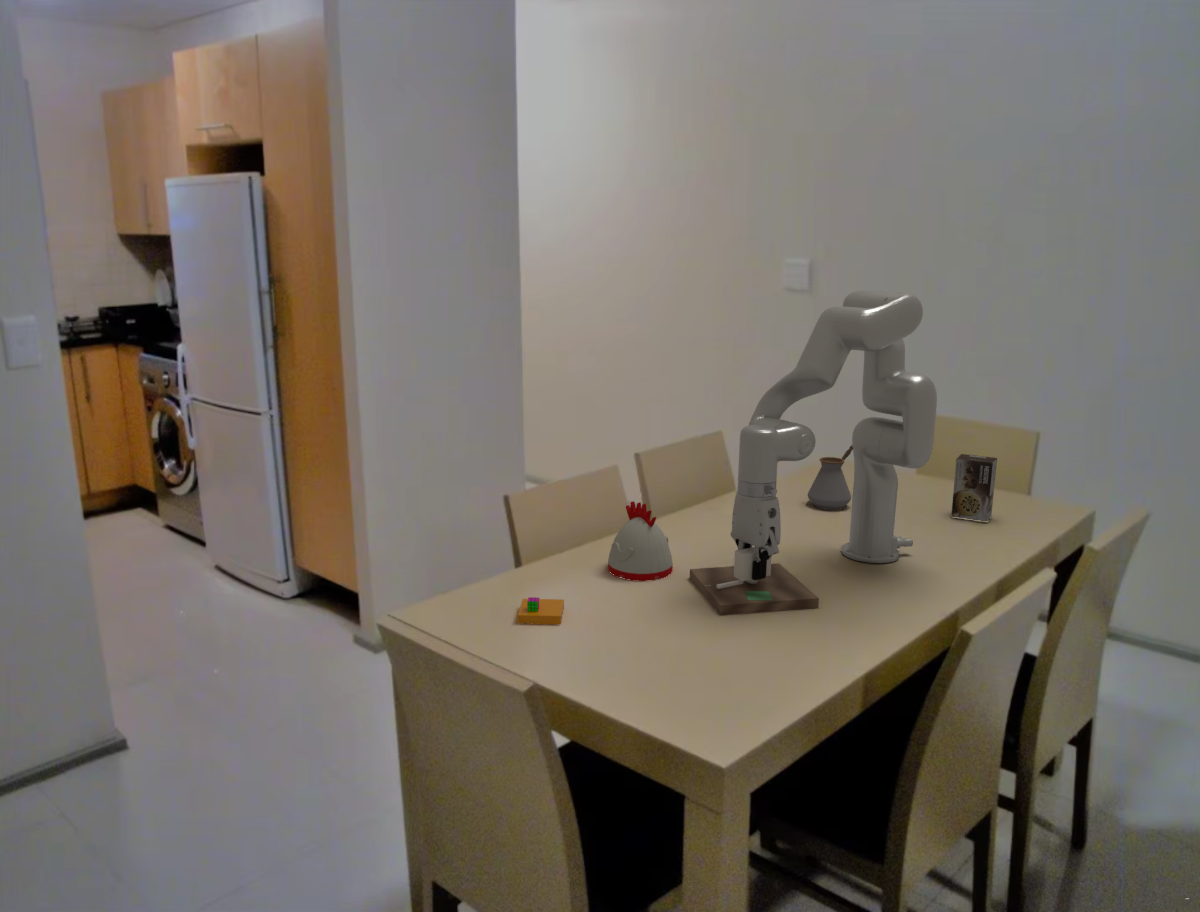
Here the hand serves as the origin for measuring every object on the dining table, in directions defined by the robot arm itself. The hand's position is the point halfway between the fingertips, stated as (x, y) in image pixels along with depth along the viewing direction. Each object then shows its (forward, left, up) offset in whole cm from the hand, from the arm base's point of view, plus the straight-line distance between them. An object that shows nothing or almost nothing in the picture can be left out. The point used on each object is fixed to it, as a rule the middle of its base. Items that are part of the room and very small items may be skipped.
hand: (752, 574), depth 185 cm
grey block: (+2, +1, -1) cm, 3 cm away
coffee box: (-75, -39, -4) cm, 85 cm away
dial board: (0, 0, -4) cm, 4 cm away
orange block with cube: (+44, +4, -4) cm, 44 cm away
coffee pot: (-47, -59, -4) cm, 75 cm away
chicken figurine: (+19, -17, -4) cm, 26 cm away
